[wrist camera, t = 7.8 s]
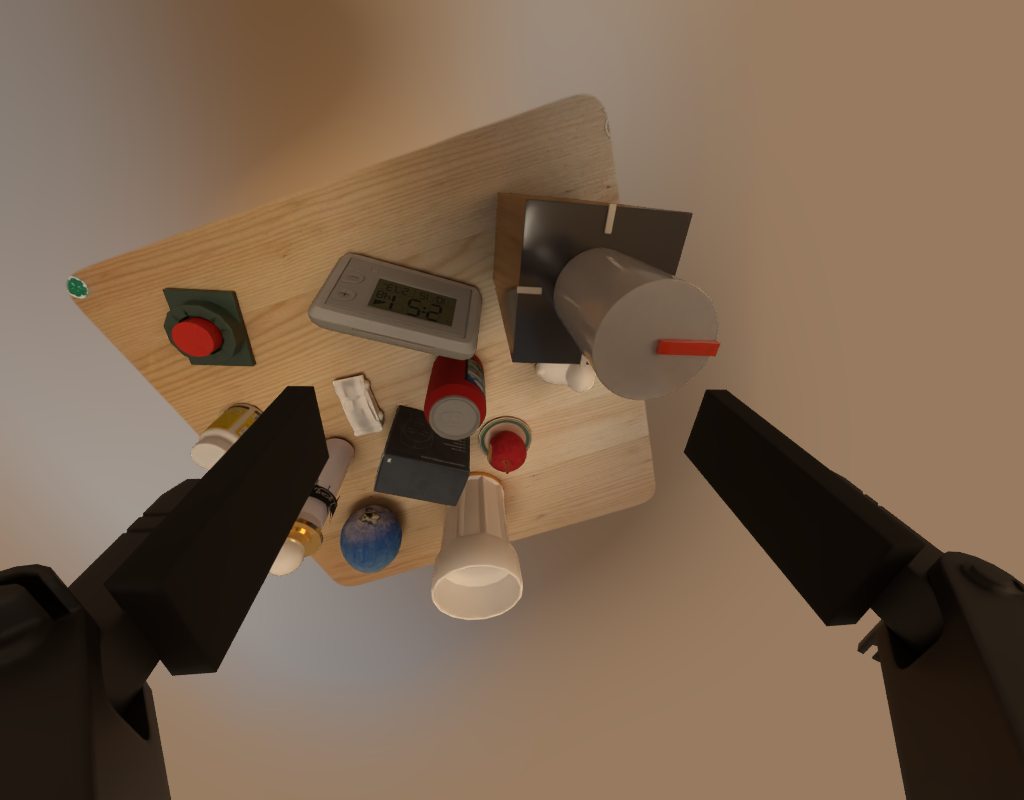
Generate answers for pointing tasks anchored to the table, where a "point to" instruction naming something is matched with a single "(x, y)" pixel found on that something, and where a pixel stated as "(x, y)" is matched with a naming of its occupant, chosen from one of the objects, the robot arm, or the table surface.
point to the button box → (218, 311)
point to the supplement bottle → (223, 434)
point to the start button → (197, 337)
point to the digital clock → (399, 307)
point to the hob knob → (635, 323)
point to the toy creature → (567, 375)
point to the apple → (505, 443)
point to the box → (422, 461)
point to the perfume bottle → (315, 510)
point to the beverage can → (456, 397)
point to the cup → (477, 555)
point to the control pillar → (551, 245)
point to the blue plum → (371, 538)
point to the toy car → (359, 405)
